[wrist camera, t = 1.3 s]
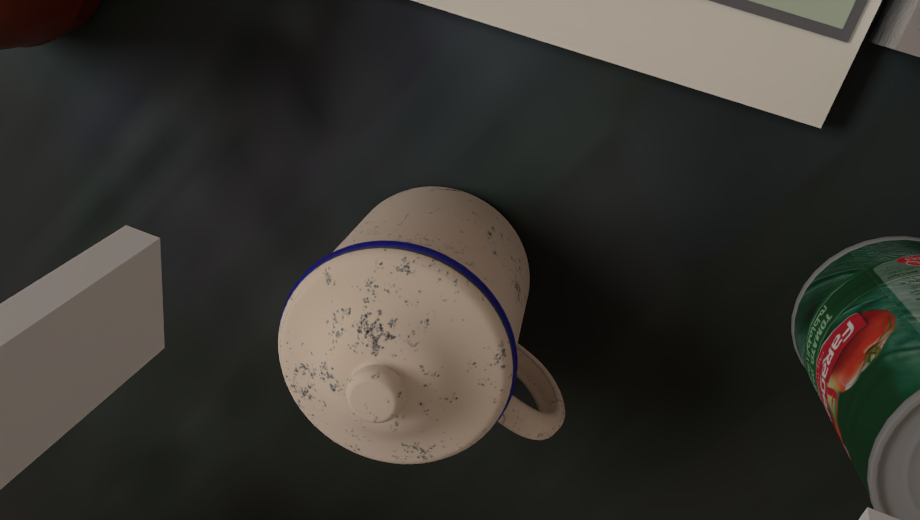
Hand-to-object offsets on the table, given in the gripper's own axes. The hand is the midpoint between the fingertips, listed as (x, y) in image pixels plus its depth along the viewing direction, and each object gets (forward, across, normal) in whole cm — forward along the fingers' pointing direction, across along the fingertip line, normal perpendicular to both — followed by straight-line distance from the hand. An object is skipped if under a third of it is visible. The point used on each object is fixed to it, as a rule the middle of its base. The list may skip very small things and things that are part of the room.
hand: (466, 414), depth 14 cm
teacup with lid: (+19, +5, +11) cm, 23 cm away
